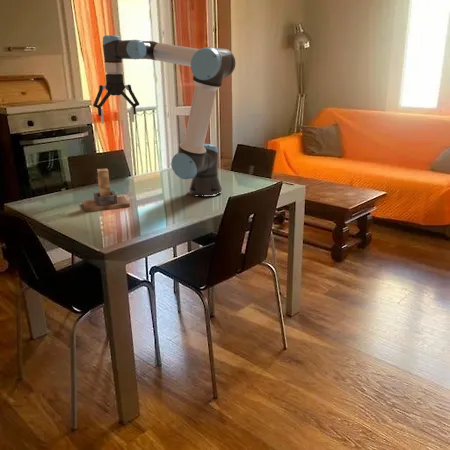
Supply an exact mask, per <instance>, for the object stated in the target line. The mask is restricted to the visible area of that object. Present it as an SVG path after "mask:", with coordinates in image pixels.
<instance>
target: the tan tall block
mask: <svg viewBox="0 0 450 450" xmlns="http://www.w3.org/2000/svg"><path fill="white" fill-rule="evenodd" d="M96 172H97V183H98V191H99V194H100V197H101V196H111V194H110V191H111V184H110V175H109V174H110V172H109V169H108V168H97V169H96Z"/></svg>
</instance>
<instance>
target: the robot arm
mask: <svg viewBox="0 0 450 450" xmlns="http://www.w3.org/2000/svg"><path fill="white" fill-rule="evenodd" d="M102 51H103V59H104V72H105V85H101V84H99V85H98V92H97V94H96V97H95V99H94V102H93V104H92V106H93V107H94V108H96V109H97V115H98V116H99V117H100V122H101V124H102V125H103V124H105V119H104V108H103V105H104V104H105V103H106V102H107V100H108V99H109V97H110V96H123V98H124V99H125V100H126V102H127V103H128V104H129V105H131V106H130V121H131V123H135V115H136V114H137V111H136V110H137V109H136V108H137V107H138V106H140V102H139V101H138V98H137V97H136V95H135V93H134V91H133V89H132V85H131V84H125V83H124V74H122V73H123V71H124V70H123V60H151V61H158V62H164V63H168V64H170V63H171V64H175V65H179V66H185V67H190V69H191V70H190V71H191V72H192V82H193V83H194V85H195V86H194V91H193V96H192V101H191V106H190V109H189V110H190V111H189V116H188V120H187V125H186V130H185V135H184V140H183V142H181V143H179V146H178V151H177V153H176V154H174V155H173V156H172V158H171V163H170V164H171V169H172V171H173V172H174V174H175V176H177V177H178V178H179V179H182V180H191V183H190V185H189V190H188V192H189V195H190V194H192V195H198V196H202V195H203V196H204V195H213V194H217V193H219V192H221V191H223V190H222V189H223V188H222V186H221V183H220V179H219V173H218V172H219V149H218V146H217V145H216V144H211V143H206V138H207V133H208V129H209V124H210V120H211V115H212V110H213V107H214V102H215V97H216V93H217V90H219V89H220V88H221V87H222V84H223V80H224V79H225V78H228V77H229V76H231V75H232V74H233V72H234V71H235V68H236V64H237V63H236V57H235V55H234V53H232V52H231V50H229V49H228V48H224V47H211V46H207V47H202V48H195V47H189V46H182V45H175V44H169V43H164V42H163V43H162V42H157V41H153V40H139V39H129V40H128V39H127V40H126V39H125V40H121V37H120V35H115V34H113V35H107V34H106V35H103V36H102ZM105 90H106V91H107V92H106V93H105V95H104V96H103V98H102V99H101V96H102V94H103V91H105ZM124 90H127V91H128V92H129V95H130V96H131V98H132V100H133V101H132V100H131V98H129V97H128V95H127V94H126V92H124ZM100 99H101V101H100ZM99 101H100V102H99ZM192 195H191V196H192Z"/></svg>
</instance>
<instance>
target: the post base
mask: <svg viewBox="0 0 450 450" xmlns="http://www.w3.org/2000/svg"><path fill="white" fill-rule="evenodd" d="M110 194H111V196H101V197H100V194H99V192H96V191H95V192H93V199H85V200H82V202H81V203H82V206H83V208H84V211H85V212H86V213H88V212H89V213H90V212H96V211H97V212H98V211H106V210H114V209H122V208H123V209H124V208H130V207H131V205H130V202H129V201H128V199H127V198H126V197H125V195H123V196H118V195H117V193H115V191H114V190H110Z"/></svg>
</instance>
